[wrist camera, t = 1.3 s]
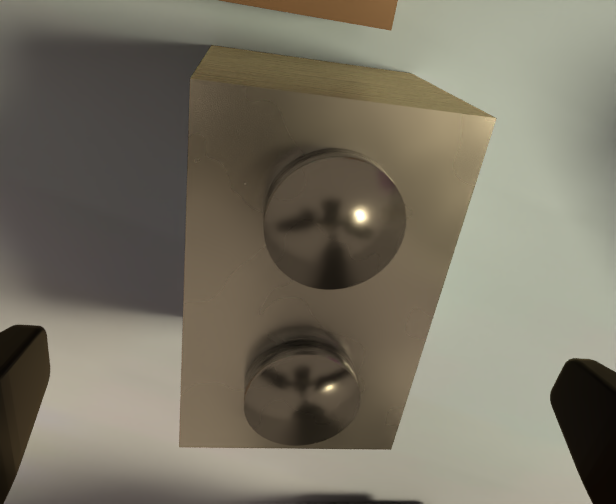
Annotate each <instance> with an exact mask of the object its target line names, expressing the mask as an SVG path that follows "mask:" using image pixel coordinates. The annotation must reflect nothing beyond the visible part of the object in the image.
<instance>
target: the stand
mask: <svg viewBox="0 0 616 504" xmlns="http://www.w3.org/2000/svg"><path fill="white" fill-rule="evenodd" d="M220 1H225V2H231V3H237V4H243V5H248V6H254V7H260V8H266V9H271V10H277V11H283V12H289V13H294V14H300V15H306V16H311V17H317V18H323V19H329V20H334V21H340V22H346V23H352V24H357V25H363V26H369V27H374V28H380V29H386V30H391V29H392V24H393V20H394V15H395V11H396V6H397V1H398V0H220Z"/></svg>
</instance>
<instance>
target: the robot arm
mask: <svg viewBox="0 0 616 504" xmlns="http://www.w3.org/2000/svg"><path fill="white" fill-rule="evenodd" d="M49 377H50V360H49V351H48V342H47V334H46V331H45V329H44V328H43V327H41V326H34V325H13V326H11V327H9V328H7V329H6V330H4V331H2V332H0V504H4V501H5V499H6V497H7V495H8V493H9V491H10V489H11V486H12V484H13V482H14V479H15V477H16V475H17V472H18V469H19V467H20V464H21V461H22V458H23V455H24V452H25V449H26V447H27V444H28V441H29V438H30V435H31V432H32V429H33V426H34V423H35V420H36V417H37V414H38V411H39V408H40V405H41V402H42V399H43V397H44V394H45V391H46V388H47V385H48V381H49ZM550 401H551V405H552V408H553V410H554V413H555V415H556V418H557V420H558V423H559V426H560V428H561V431H562V433H563V436H564V438H565V441H566V443H567V446H568V448H569V451H570V453H571V456H572V458H573V461H574V463H575V466H576V468H577V471H578V473H579V475H580V478H581V480H582V482H583V485H584V487H585V489H586V491H587V493H588V495H589V497H590V499H591V501H592V503H593V504H616V372H614V371H613V370H611V369H609V368H607V367H605V366H604V365H602V364H600V363H598V362H597V361H594V360H591V359H579V358H573V359H569V360H568V361H567V362H566V363H565V365H564V366H563V368H562V370H561V372H560V374H559V376H558V378H557V380H556V382H555V384H554V386H553V388H552V390H551V394H550Z"/></svg>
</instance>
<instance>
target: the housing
mask: <svg viewBox="0 0 616 504" xmlns="http://www.w3.org/2000/svg"><path fill="white" fill-rule="evenodd" d="M495 121H496V118H495V117H493V116H491V115H489V114H488V113H486V112H484V111H482V110H480V109H478V108H476V107H474V106H472V105H471V104H469V103H467V102H465V101H463V100H461V99H459V98H457V97H455V96H453V95H452V94H450V93H448V92H446V91H444V90H442V89H440V88H438V87H436V86H435V85H433V84H431V83H429V82H427V81H425V80H423V79H421V78H419V77H417V76H416V75H414V74H412V73H406V72H399V71H392V70H384V69H377V68H370V67H363V66H356V65H349V64H342V63H335V62H328V61H321V60H314V59H307V58H299V57H292V56H285V55H278V54H271V53H264V52H257V51H250V50H243V49H236V48H229V47H222V46H214V45H211V47H210V48H209V50H208V51H207V53H206V55H205V56H204V58H203V59H202V61H201V62H200V64H199V65H198V67H197V69H196V70H195V72H194V73H193V75H192V76H191V78H190V97H189V131H188V164H187V198H186V232H185V265H184V299H183V333H182V366H181V400H180V434H179V447H208V448H301V449H391V448H392V445H393V442H394V439H395V435H396V432H397V429H398V426H399V423H400V420H401V417H402V413H403V410H404V407H405V404H406V401H407V398H408V395H409V391H410V388H411V385H412V382H413V379H414V376H415V373H416V369H417V366H418V363H419V360H420V357H421V354H422V351H423V347H424V344H425V341H426V338H427V335H428V332H429V329H430V325H431V322H432V319H433V316H434V313H435V310H436V307H437V303H438V300H439V297H440V294H441V291H442V288H443V285H444V281H445V278H446V275H447V272H448V269H449V266H450V263H451V259H452V256H453V253H454V250H455V247H456V244H457V241H458V237H459V234H460V231H461V228H462V225H463V222H464V219H465V215H466V212H467V209H468V206H469V203H470V200H471V197H472V193H473V190H474V187H475V184H476V181H477V178H478V175H479V171H480V168H481V165H482V162H483V159H484V156H485V153H486V149H487V146H488V143H489V140H490V137H491V134H492V131H493V127H494V124H495Z"/></svg>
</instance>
